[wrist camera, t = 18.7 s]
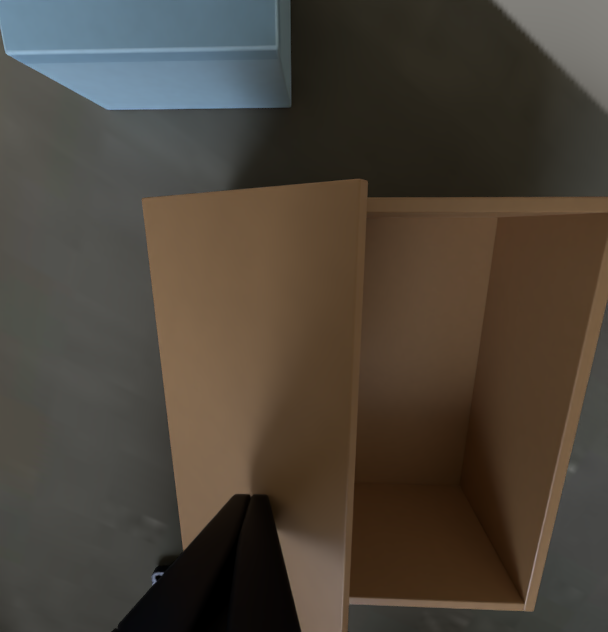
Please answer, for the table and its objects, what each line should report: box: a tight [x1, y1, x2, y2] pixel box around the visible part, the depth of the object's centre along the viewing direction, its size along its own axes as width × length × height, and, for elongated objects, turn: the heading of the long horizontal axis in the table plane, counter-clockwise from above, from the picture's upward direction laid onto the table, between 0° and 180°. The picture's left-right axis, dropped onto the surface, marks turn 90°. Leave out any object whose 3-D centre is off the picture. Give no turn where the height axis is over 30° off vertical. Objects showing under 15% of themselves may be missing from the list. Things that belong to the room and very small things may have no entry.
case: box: [0, 0, 291, 110], centre depth 11 cm, size 5×8×5 cm, turn 90°
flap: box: [142, 179, 368, 632], centre depth 9 cm, size 15×6×1 cm
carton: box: [349, 197, 608, 611], centre depth 14 cm, size 15×13×6 cm
